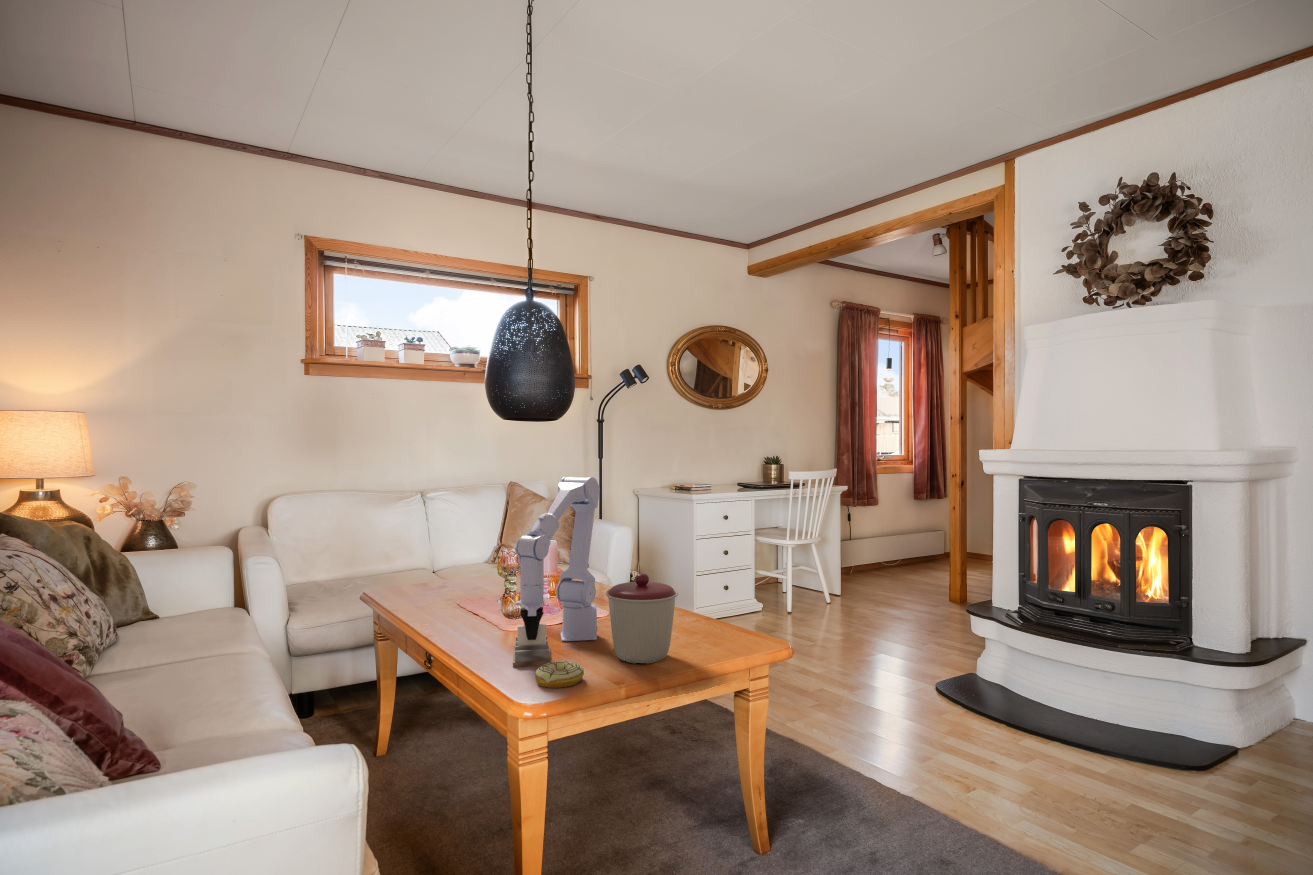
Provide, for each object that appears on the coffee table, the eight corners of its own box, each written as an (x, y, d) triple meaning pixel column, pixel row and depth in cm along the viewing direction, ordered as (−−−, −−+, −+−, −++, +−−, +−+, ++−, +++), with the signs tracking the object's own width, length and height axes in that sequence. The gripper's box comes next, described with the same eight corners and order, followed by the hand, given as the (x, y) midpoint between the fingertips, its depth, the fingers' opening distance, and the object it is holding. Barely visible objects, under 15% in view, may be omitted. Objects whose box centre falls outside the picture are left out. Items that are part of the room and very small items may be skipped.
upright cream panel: (545, 651, 180) (545, 623, 180) (546, 653, 178) (546, 625, 178) (517, 652, 179) (517, 624, 179) (517, 654, 177) (517, 626, 177)
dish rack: (549, 648, 186) (549, 634, 186) (550, 664, 173) (550, 650, 173) (513, 649, 185) (513, 636, 185) (512, 666, 171) (512, 652, 171)
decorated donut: (528, 679, 163) (528, 662, 163) (571, 671, 169) (571, 655, 169) (546, 693, 154) (546, 675, 154) (591, 684, 160) (591, 667, 160)
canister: (692, 658, 178) (693, 574, 178) (637, 674, 166) (637, 584, 166) (645, 643, 191) (645, 564, 191) (590, 656, 179) (591, 572, 179)
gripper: (516, 578, 185) (515, 631, 185) (515, 590, 171) (514, 647, 171) (543, 577, 186) (543, 629, 186) (545, 589, 172) (544, 645, 172)
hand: (531, 638), depth 179 cm, fingers closed on upright cream panel, 2 cm apart
